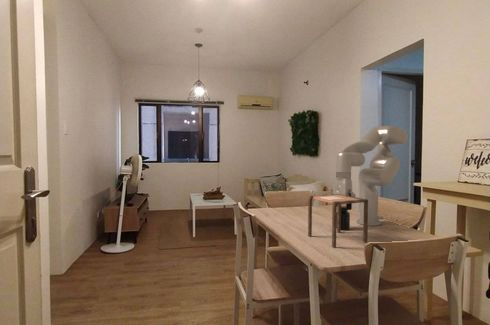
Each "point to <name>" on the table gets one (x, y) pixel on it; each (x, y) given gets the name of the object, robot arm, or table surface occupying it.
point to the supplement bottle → (344, 219)
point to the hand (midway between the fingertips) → (342, 208)
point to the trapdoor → (334, 198)
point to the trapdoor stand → (339, 217)
